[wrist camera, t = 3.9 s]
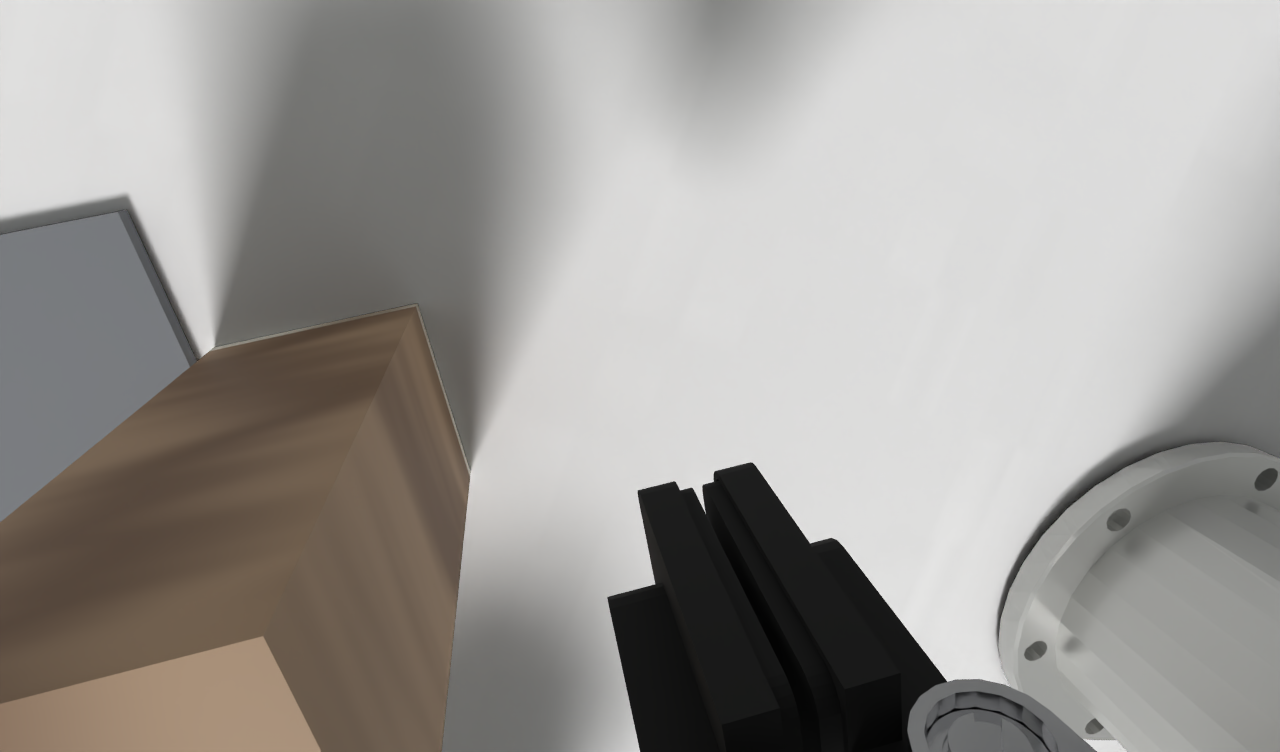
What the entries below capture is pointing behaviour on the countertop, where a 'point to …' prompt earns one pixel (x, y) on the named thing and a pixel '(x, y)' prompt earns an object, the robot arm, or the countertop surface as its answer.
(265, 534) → the block
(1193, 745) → the robot arm
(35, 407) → the mat
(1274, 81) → the countertop surface
